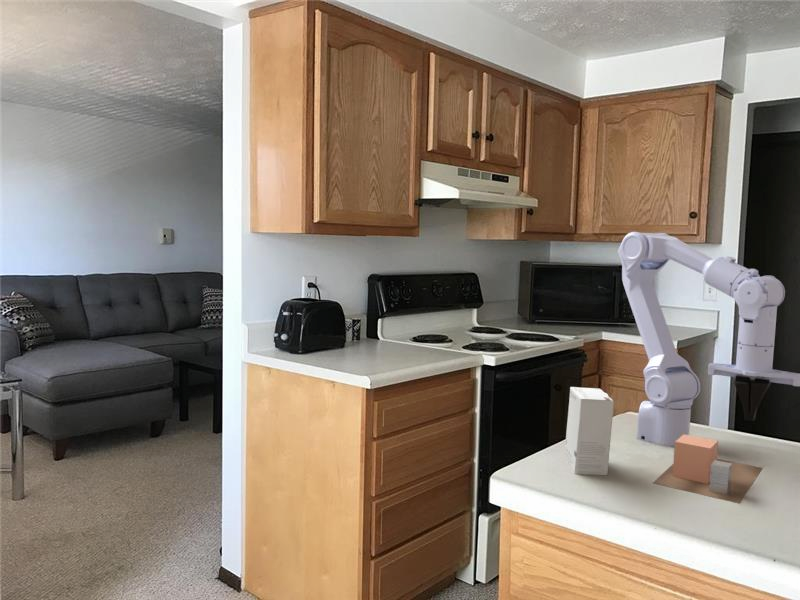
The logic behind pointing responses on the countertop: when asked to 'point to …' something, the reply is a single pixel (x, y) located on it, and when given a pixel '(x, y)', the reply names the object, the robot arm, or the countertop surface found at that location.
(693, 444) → the salmon pink cube
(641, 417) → the robot arm
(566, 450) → the skincare box
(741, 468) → the board
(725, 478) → the white sugar cube
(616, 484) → the countertop surface
